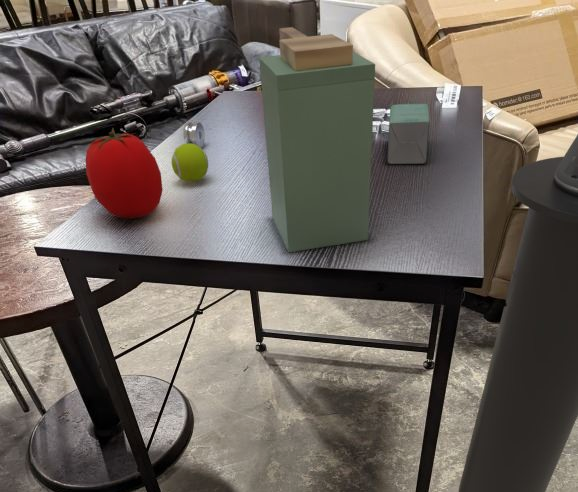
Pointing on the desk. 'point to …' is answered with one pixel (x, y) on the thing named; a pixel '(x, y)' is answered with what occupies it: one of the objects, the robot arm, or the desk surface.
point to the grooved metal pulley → (194, 133)
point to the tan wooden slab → (313, 50)
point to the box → (408, 134)
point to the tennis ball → (189, 162)
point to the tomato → (124, 175)
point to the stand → (319, 150)
